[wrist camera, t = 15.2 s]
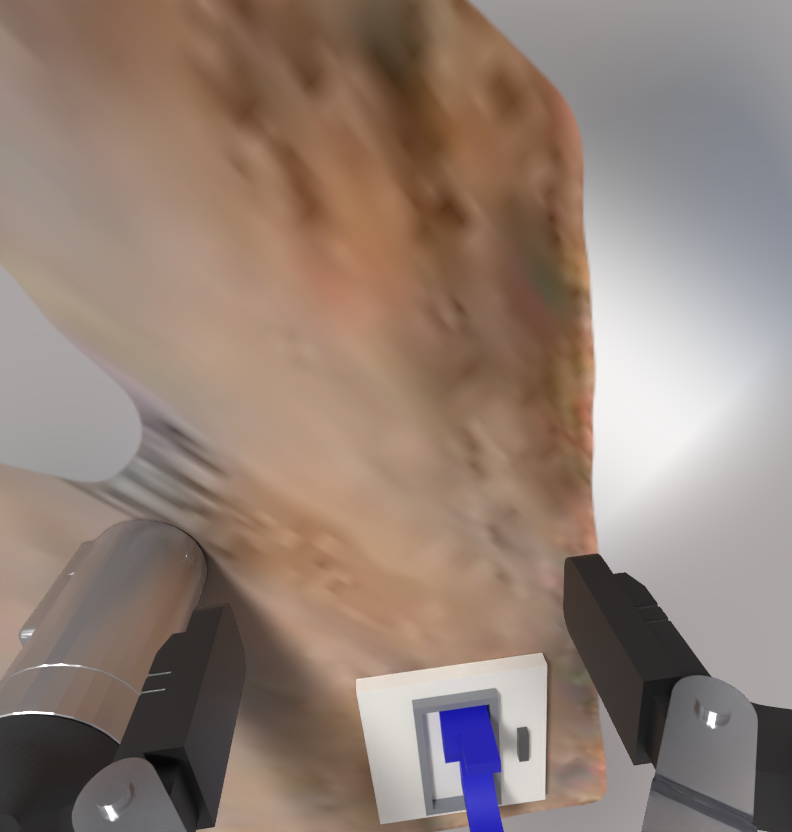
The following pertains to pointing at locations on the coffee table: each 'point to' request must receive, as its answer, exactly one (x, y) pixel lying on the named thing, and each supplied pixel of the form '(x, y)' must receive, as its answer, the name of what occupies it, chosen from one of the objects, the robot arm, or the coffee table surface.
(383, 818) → the board
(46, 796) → the robot arm
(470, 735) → the cable clip
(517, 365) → the coffee table surface
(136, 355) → the coffee table surface
